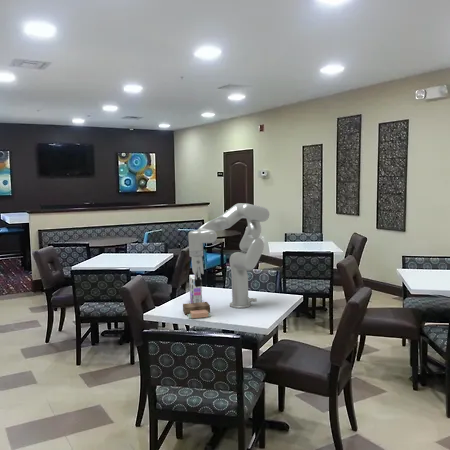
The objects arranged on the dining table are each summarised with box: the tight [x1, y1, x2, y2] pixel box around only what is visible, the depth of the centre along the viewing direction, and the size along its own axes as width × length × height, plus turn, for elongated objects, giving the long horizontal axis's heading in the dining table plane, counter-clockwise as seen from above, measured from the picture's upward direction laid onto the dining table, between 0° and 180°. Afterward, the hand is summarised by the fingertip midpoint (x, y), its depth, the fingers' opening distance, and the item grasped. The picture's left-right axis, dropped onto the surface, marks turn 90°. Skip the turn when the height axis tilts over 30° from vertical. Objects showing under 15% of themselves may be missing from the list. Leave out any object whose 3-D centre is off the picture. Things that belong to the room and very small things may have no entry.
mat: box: [186, 312, 212, 320], centre depth 258 cm, size 12×8×1 cm, turn 103°
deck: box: [182, 301, 211, 316], centre depth 266 cm, size 14×9×4 cm, turn 103°
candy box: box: [188, 274, 203, 303], centre depth 285 cm, size 14×6×16 cm, turn 11°
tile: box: [190, 310, 209, 319], centre depth 255 cm, size 9×6×2 cm, turn 102°
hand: (198, 286), depth 259 cm, fingers closed
